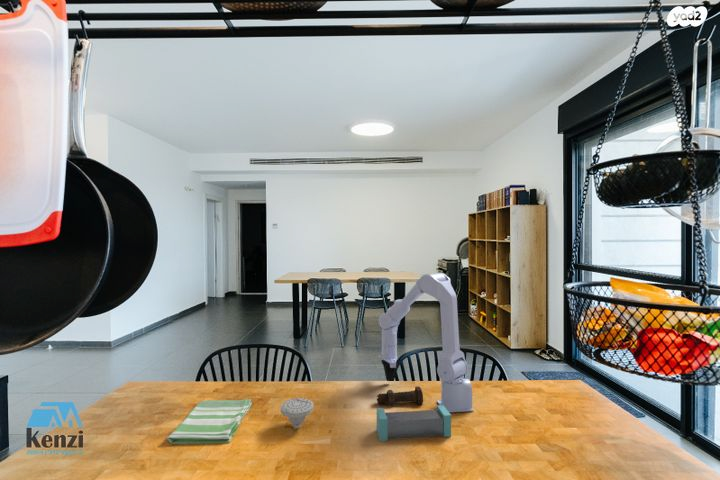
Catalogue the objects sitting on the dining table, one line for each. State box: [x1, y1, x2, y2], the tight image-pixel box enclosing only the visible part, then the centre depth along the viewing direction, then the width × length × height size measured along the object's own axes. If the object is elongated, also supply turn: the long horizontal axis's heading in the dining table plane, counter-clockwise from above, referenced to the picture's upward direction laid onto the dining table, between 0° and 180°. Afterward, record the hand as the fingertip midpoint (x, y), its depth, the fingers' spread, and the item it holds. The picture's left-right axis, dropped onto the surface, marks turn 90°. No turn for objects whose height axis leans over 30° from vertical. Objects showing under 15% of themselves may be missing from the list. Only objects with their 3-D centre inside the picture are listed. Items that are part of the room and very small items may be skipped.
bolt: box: [376, 386, 424, 407], centre depth 119 cm, size 6×5×15 cm
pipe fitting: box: [376, 404, 452, 442], centre depth 101 cm, size 20×6×6 cm, turn 97°
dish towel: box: [166, 398, 253, 445], centre depth 107 cm, size 18×23×3 cm
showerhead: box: [280, 397, 314, 429], centre depth 104 cm, size 9×7×10 cm
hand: (389, 380), depth 135 cm, fingers closed
